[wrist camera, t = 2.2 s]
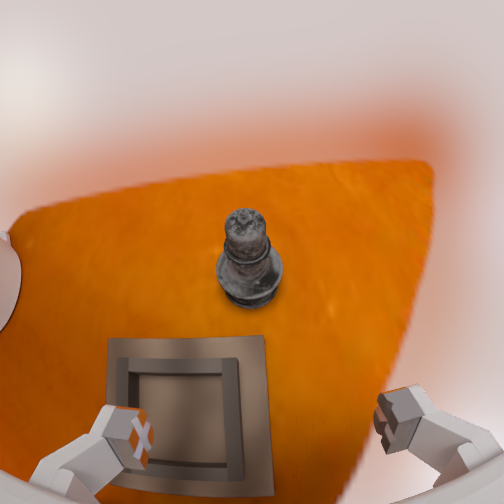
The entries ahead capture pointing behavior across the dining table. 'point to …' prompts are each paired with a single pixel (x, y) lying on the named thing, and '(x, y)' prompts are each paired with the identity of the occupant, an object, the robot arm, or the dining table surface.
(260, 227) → the grey chess piece
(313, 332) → the dining table surface
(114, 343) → the walnut board
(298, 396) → the dining table surface
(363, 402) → the dining table surface
